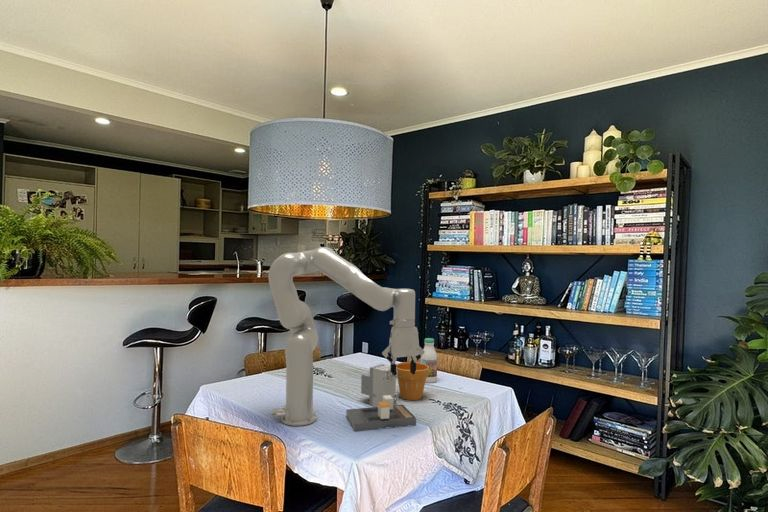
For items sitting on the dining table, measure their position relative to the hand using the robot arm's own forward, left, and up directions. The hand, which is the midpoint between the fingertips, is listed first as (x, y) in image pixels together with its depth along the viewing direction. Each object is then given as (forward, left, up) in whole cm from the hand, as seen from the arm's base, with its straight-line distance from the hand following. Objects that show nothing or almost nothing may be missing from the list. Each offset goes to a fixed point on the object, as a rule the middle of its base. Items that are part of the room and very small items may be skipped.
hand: (403, 373), depth 158 cm
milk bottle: (+29, +46, -18) cm, 57 cm away
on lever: (-3, +8, -15) cm, 17 cm away
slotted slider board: (-7, +4, -18) cm, 19 cm away
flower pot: (+13, +26, -18) cm, 34 cm away
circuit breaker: (-3, +22, -18) cm, 28 cm away
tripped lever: (-7, 0, -15) cm, 16 cm away
